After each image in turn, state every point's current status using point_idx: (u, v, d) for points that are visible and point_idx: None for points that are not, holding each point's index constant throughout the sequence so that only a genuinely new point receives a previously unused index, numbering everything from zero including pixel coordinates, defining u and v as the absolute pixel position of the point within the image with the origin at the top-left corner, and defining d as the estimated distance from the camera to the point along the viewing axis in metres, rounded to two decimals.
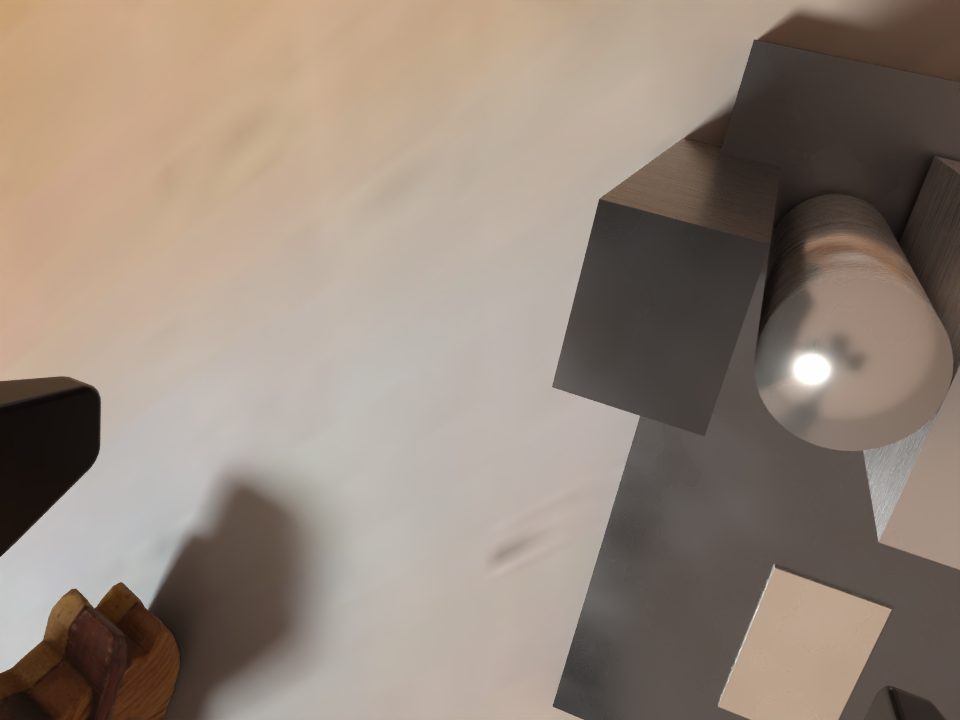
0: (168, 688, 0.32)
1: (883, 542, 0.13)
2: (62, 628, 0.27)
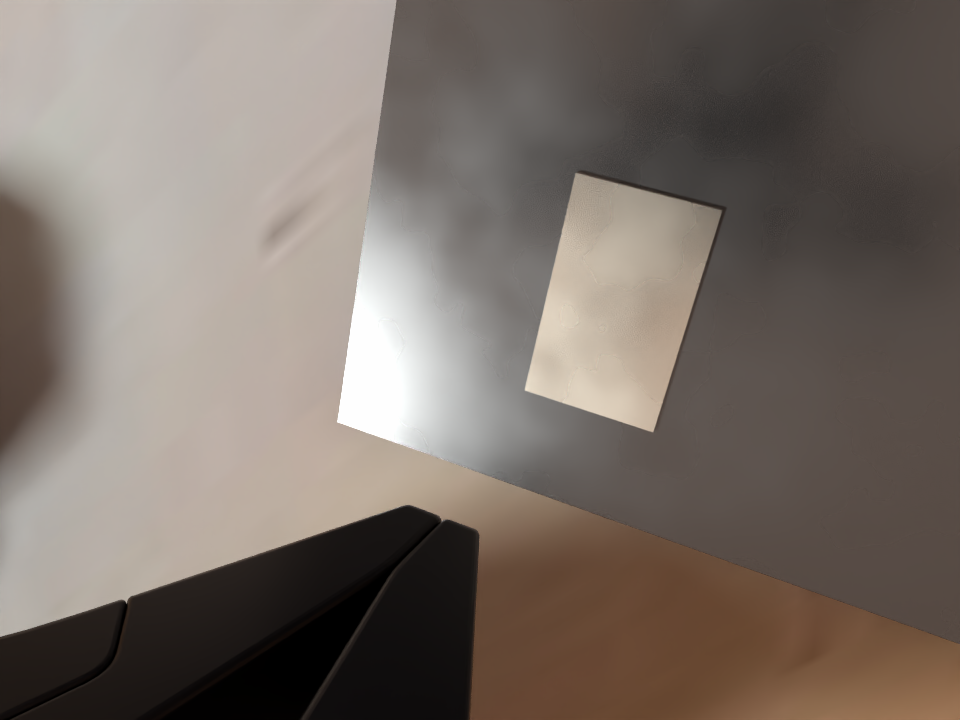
0: None
1: None
2: None
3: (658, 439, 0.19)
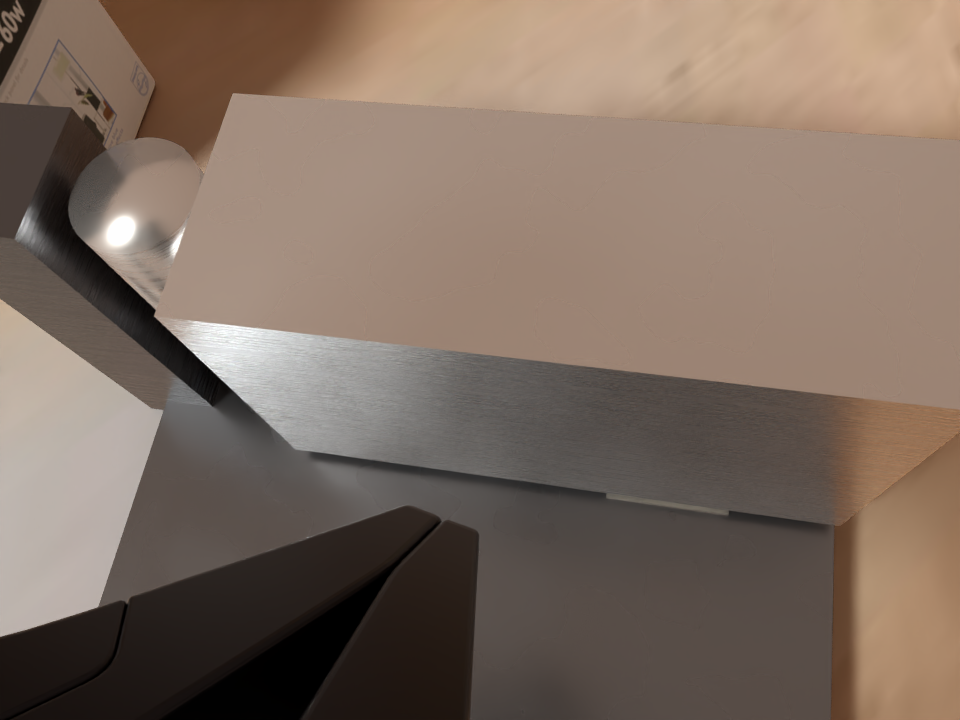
0: None
1: (157, 315, 0.15)
2: None
3: None
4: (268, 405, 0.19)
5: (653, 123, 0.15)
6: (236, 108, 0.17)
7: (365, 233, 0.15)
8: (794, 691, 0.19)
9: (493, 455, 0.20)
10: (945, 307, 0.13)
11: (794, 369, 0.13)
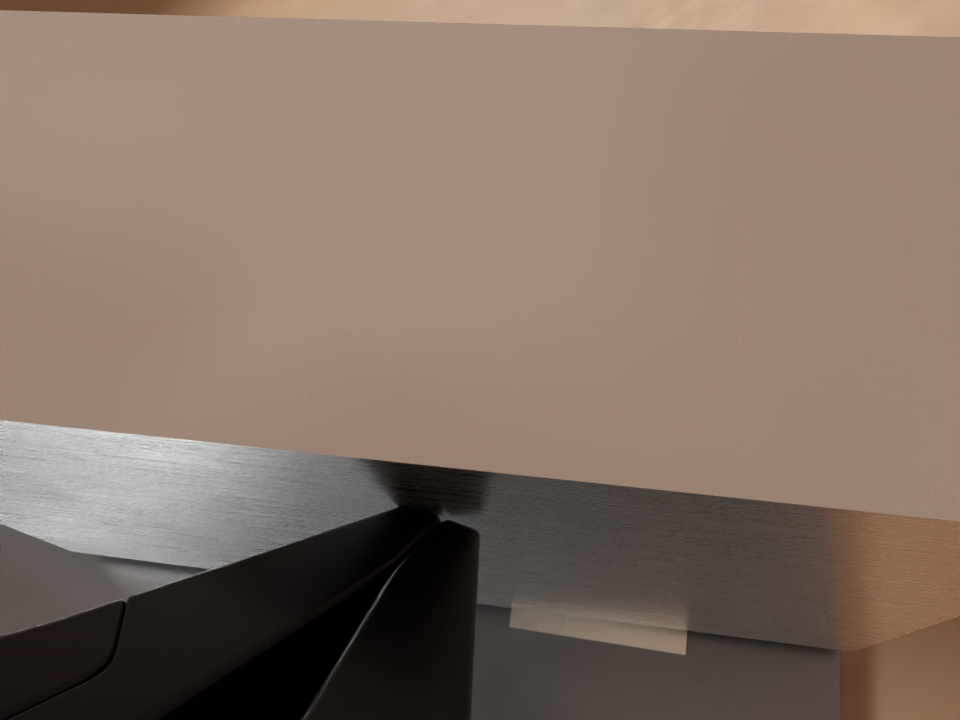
0: None
1: None
2: None
3: None
4: None
5: (534, 30, 0.09)
6: None
7: (32, 225, 0.09)
8: None
9: None
10: None
11: (795, 461, 0.07)
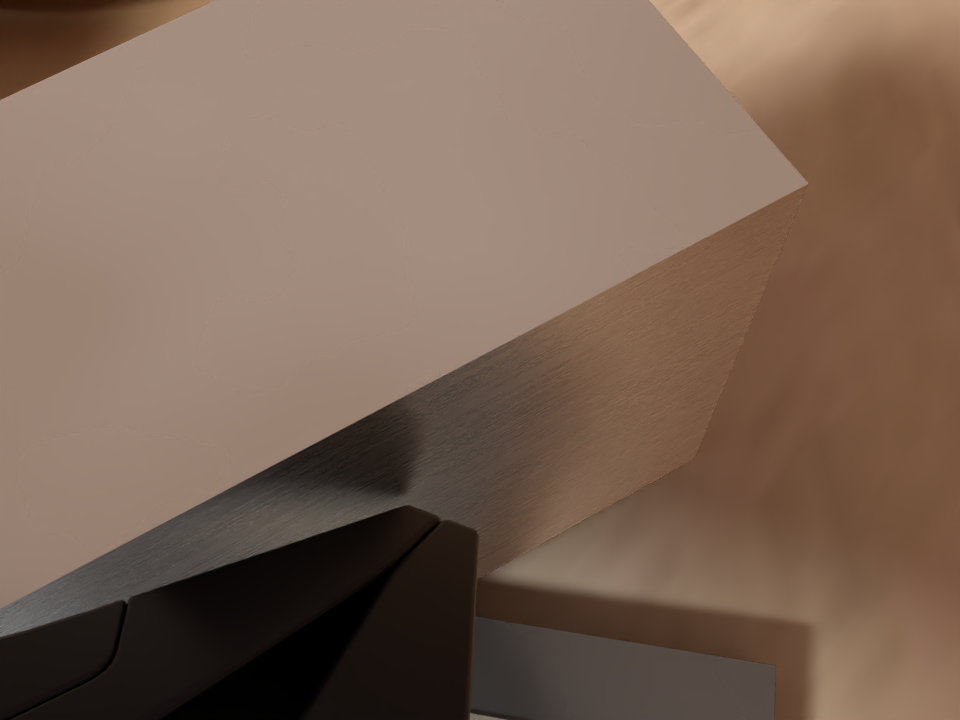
0: None
1: None
2: None
3: None
4: None
5: (64, 75, 0.09)
6: None
7: None
8: None
9: None
10: (649, 75, 0.08)
11: (505, 299, 0.07)
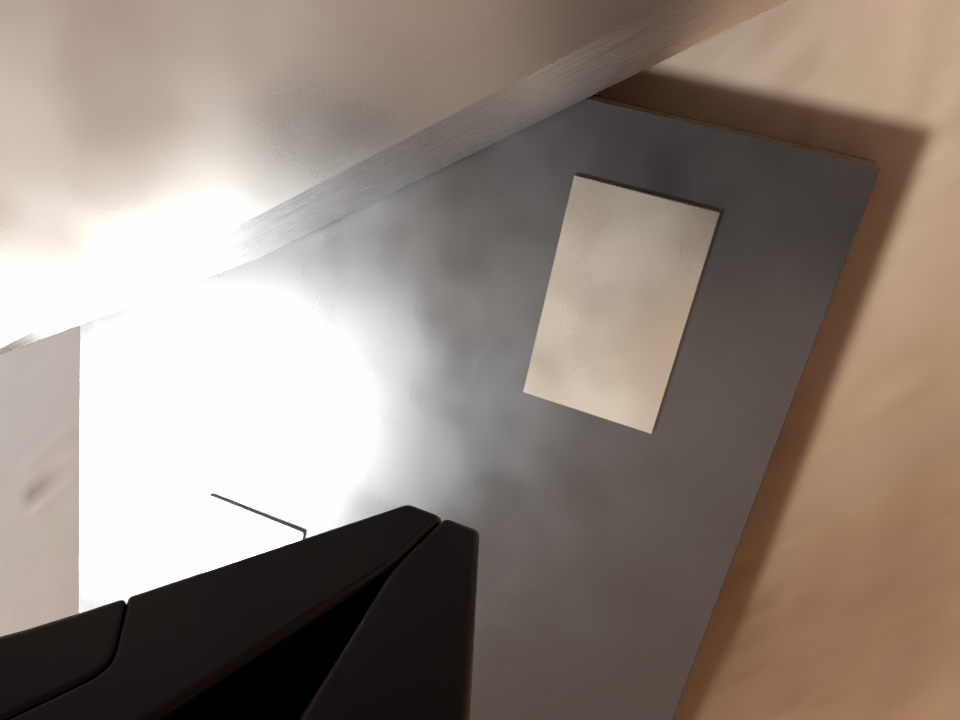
0: None
1: None
2: None
3: None
4: (173, 287, 0.17)
5: None
6: None
7: (32, 147, 0.11)
8: (679, 597, 0.20)
9: (412, 175, 0.16)
10: None
11: None
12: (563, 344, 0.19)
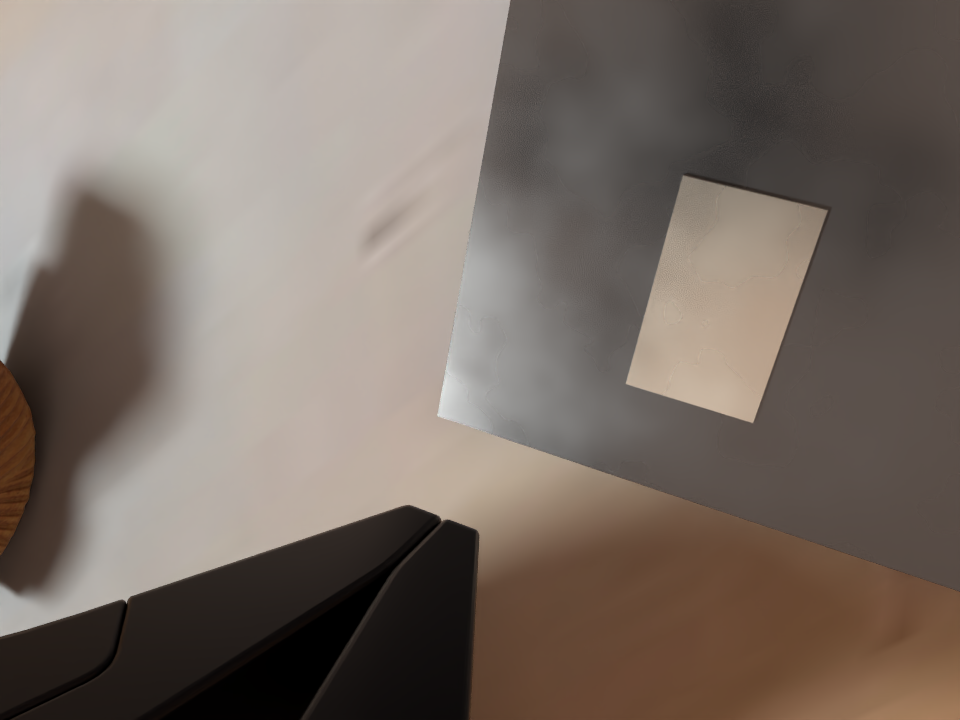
0: (21, 455, 0.28)
1: None
2: None
3: (757, 429, 0.19)
4: None
5: None
6: None
7: None
8: None
9: None
10: None
11: None
12: None
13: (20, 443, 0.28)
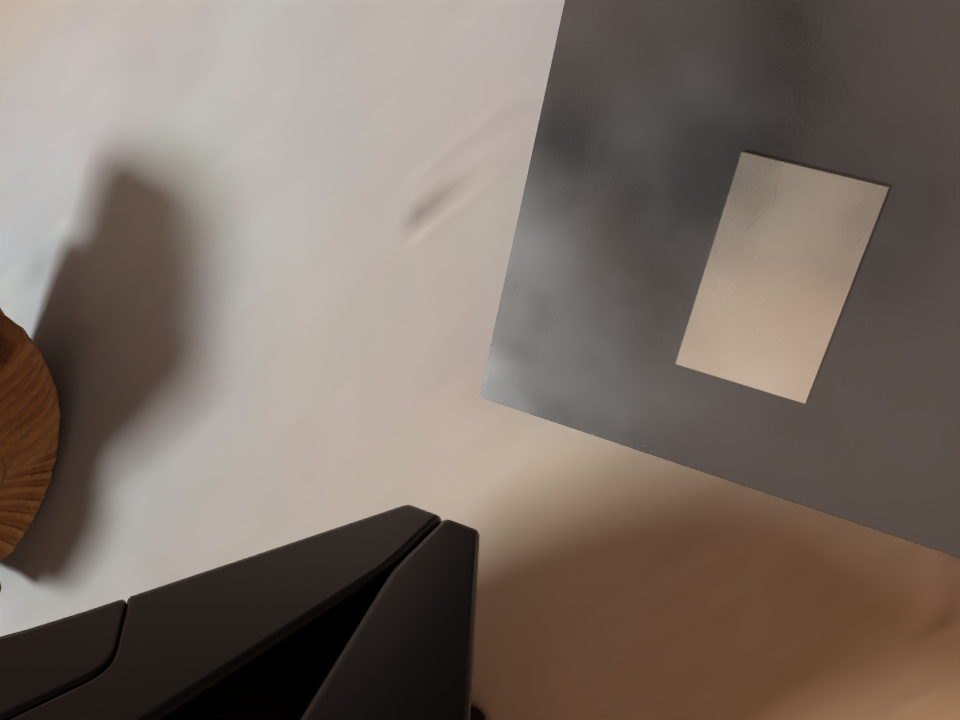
0: (46, 438, 0.28)
1: None
2: None
3: (808, 410, 0.19)
4: None
5: None
6: None
7: None
8: None
9: None
10: None
11: None
12: None
13: (46, 424, 0.27)
